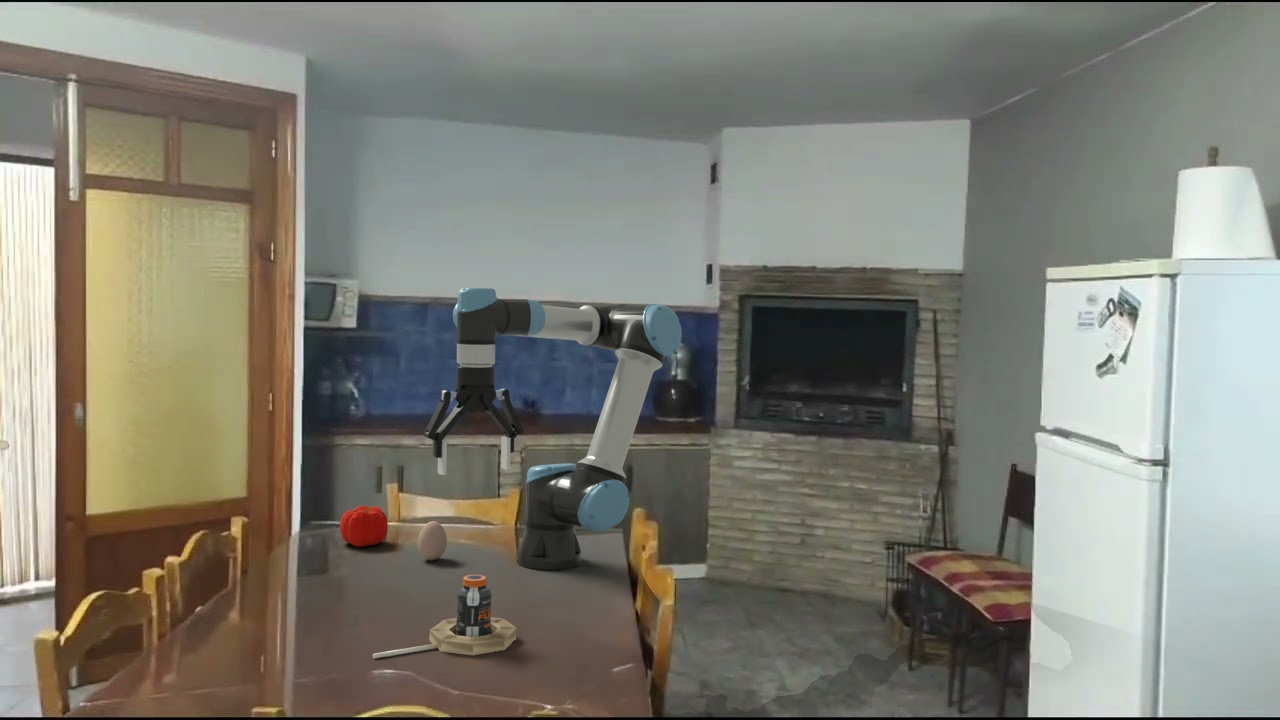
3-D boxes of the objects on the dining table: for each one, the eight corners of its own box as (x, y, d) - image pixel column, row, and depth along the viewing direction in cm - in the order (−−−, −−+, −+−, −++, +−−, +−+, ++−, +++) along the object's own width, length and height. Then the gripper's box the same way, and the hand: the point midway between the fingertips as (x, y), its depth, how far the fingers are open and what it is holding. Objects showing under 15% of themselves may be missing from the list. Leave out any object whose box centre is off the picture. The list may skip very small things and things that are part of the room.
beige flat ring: (494, 622, 176) (494, 612, 176) (526, 646, 164) (526, 635, 164) (421, 634, 168) (421, 623, 168) (449, 659, 157) (449, 647, 156)
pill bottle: (482, 647, 163) (484, 582, 162) (450, 643, 164) (452, 579, 164) (494, 636, 169) (496, 574, 168) (463, 633, 170) (465, 571, 169)
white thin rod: (436, 647, 162) (436, 642, 162) (438, 648, 161) (438, 644, 161) (372, 657, 156) (372, 653, 156) (374, 659, 155) (374, 654, 155)
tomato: (350, 538, 238) (351, 502, 237) (395, 541, 236) (396, 505, 236) (330, 548, 227) (331, 511, 227) (378, 551, 225) (378, 514, 225)
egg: (451, 561, 218) (452, 522, 218) (423, 565, 215) (424, 525, 214) (440, 555, 224) (440, 517, 223) (413, 558, 220) (414, 519, 220)
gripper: (524, 363, 196) (522, 464, 197) (408, 365, 183) (407, 473, 184) (540, 365, 190) (538, 469, 191) (422, 367, 176) (420, 479, 177)
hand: (474, 471), depth 187 cm, fingers open, 13 cm apart
